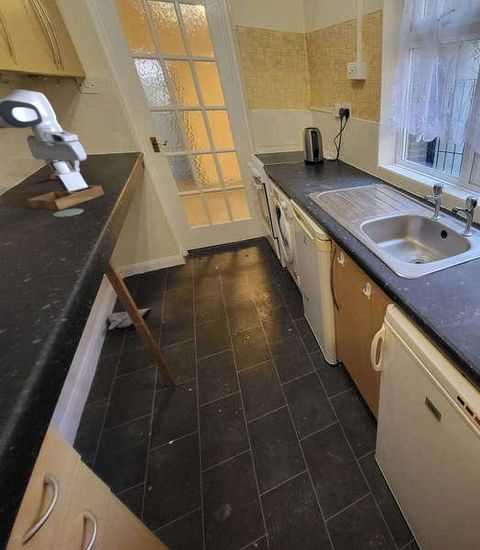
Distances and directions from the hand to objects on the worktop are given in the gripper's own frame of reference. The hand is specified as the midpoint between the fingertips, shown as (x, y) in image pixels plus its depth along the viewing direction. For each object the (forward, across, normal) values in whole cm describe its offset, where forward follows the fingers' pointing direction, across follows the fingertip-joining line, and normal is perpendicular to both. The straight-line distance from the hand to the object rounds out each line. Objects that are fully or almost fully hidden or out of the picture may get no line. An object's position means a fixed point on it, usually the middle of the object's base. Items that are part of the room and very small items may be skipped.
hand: (66, 170), depth 128 cm
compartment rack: (+12, 0, -5) cm, 13 cm away
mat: (+12, +12, -19) cm, 26 cm away
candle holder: (+12, -40, +34) cm, 54 cm away
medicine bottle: (+8, 0, 0) cm, 8 cm away
